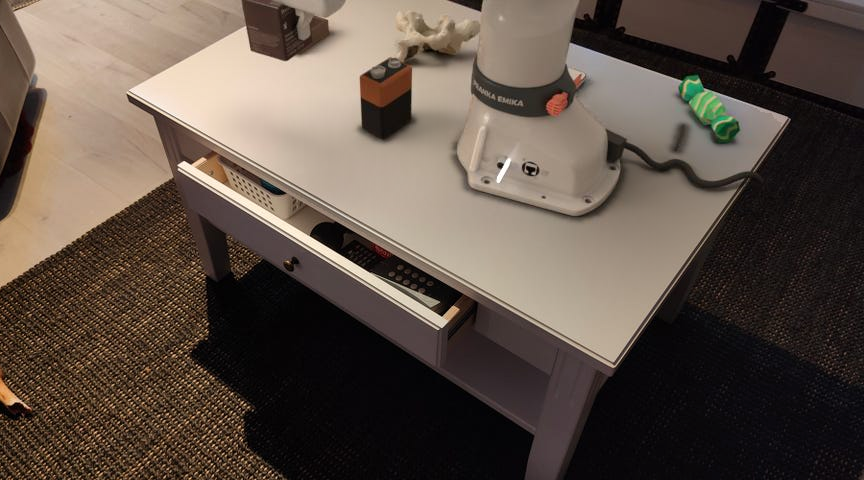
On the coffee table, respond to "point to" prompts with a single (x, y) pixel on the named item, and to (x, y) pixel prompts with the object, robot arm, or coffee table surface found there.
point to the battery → (386, 97)
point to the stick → (680, 137)
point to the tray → (318, 30)
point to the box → (272, 29)
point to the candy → (709, 109)
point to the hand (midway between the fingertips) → (280, 29)
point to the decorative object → (433, 34)
